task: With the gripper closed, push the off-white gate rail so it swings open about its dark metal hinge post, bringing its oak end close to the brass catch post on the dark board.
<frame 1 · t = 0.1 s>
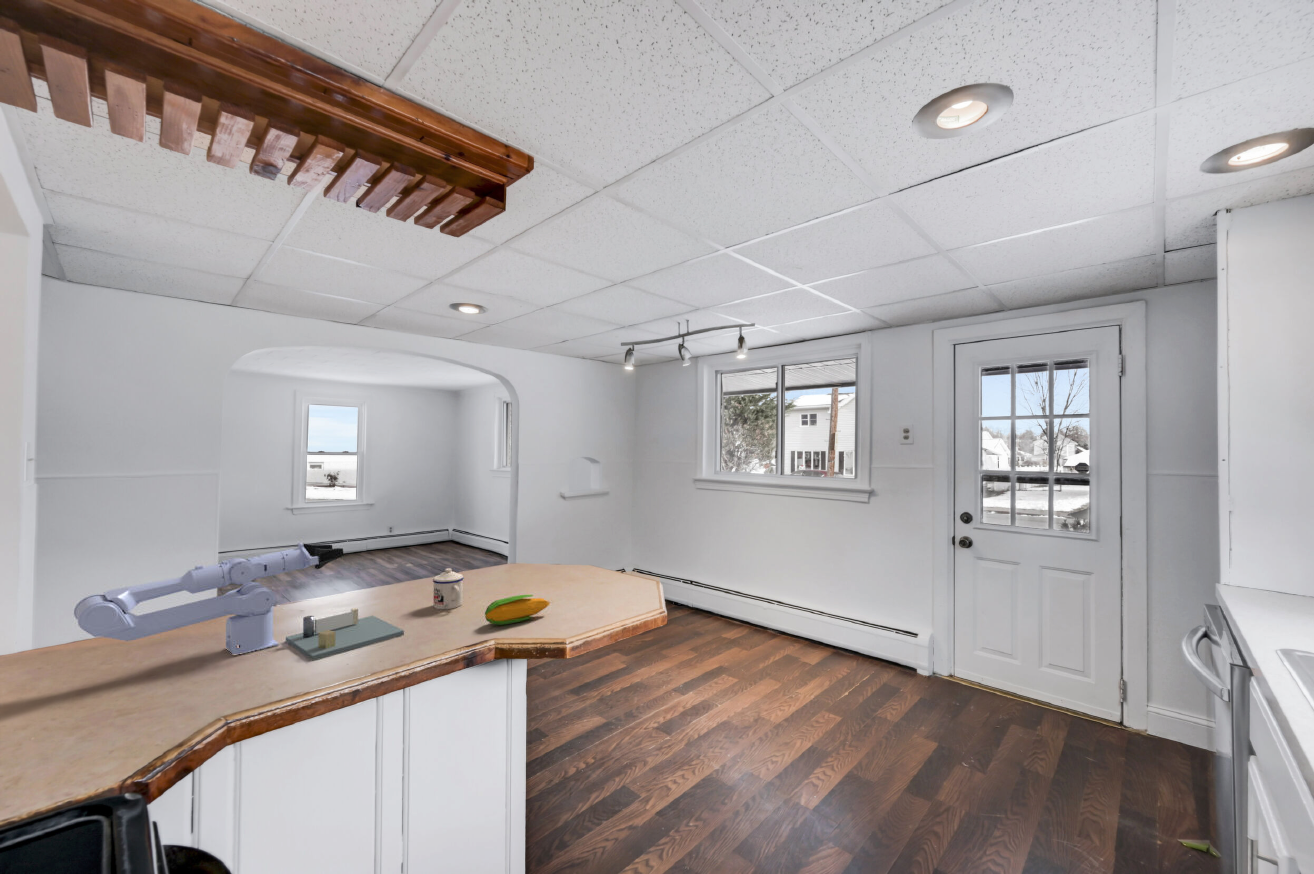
hand: (337, 550, 153), 22 cm above the counter, tool horizontal, fingers open, 7 cm apart
base board: (345, 638, 145), on the counter
gate: (336, 620, 148), point 4 cm above the counter, hinge at 0.0°
corn: (518, 621, 159), on the counter
teacup with lid: (450, 607, 172), on the counter
gate posts: (308, 640, 143), resting on base board
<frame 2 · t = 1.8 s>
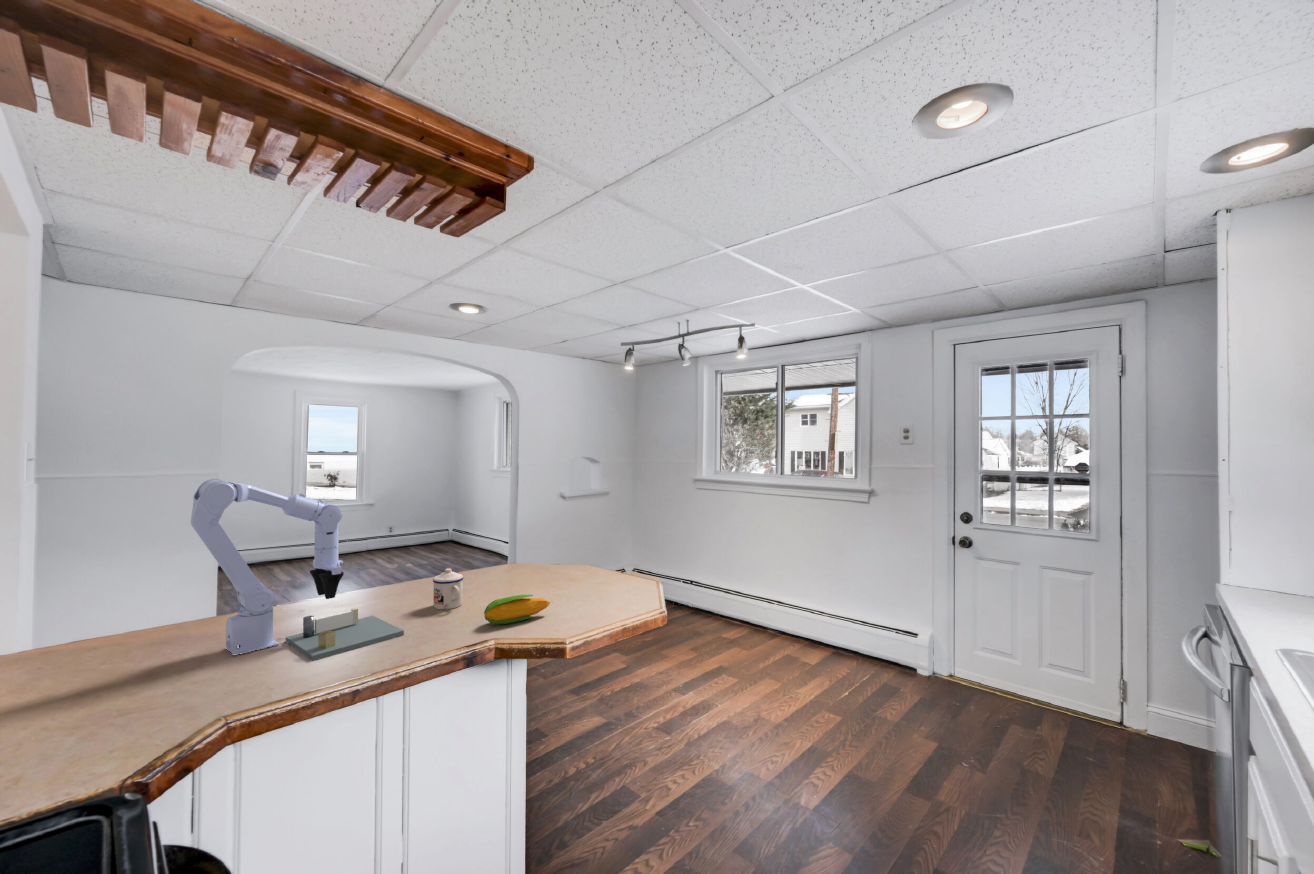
hand: (326, 596, 150), 9 cm above the counter, tool pointing down, fingers open, 5 cm apart
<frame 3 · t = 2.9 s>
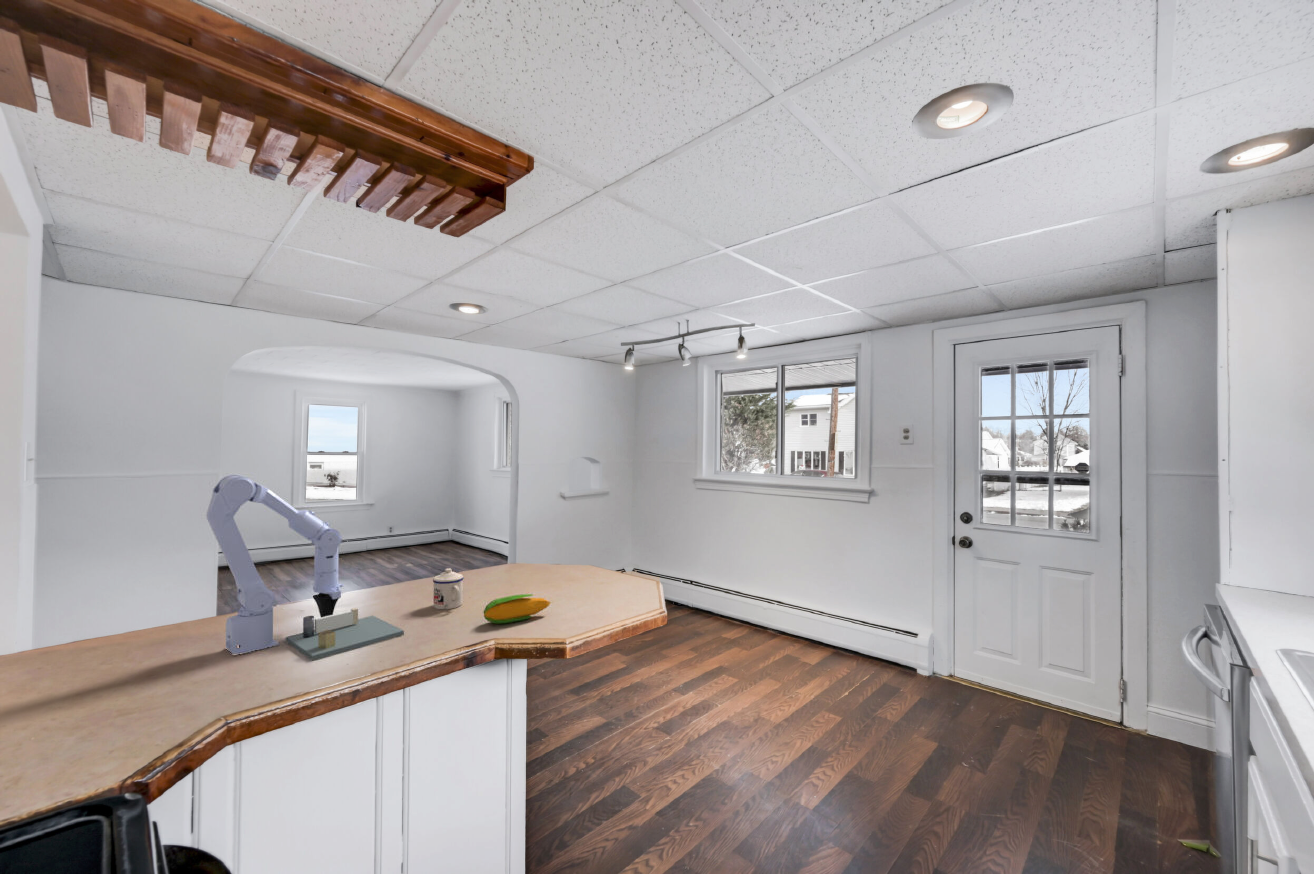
hand: (326, 619, 150), 3 cm above the counter, tool pointing down, fingers closed
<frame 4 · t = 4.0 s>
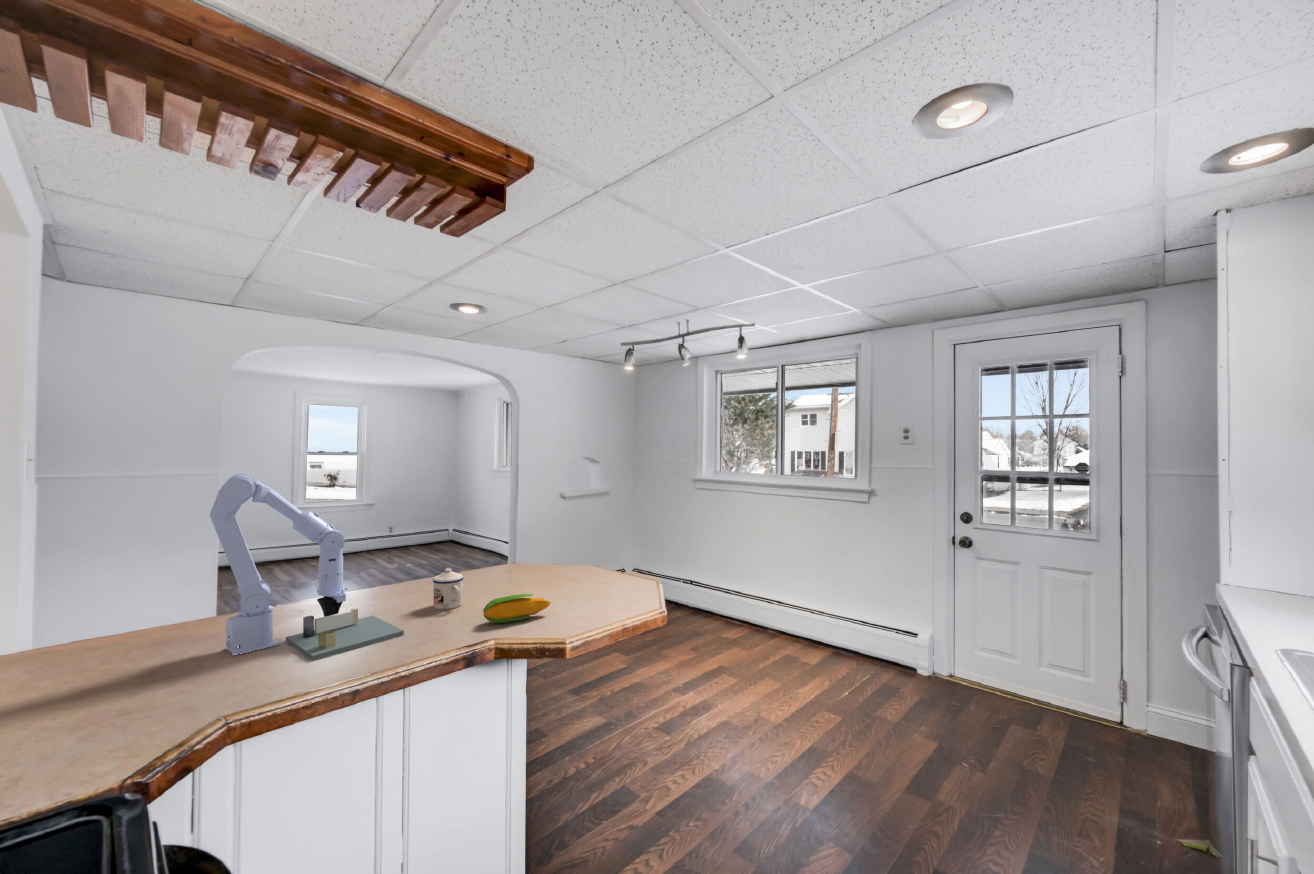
hand: (330, 623, 148), 3 cm above the counter, tool pointing down, fingers closed, pressing on gate
gate: (336, 620, 148), point 4 cm above the counter, hinge at 0.0°, touching gripper
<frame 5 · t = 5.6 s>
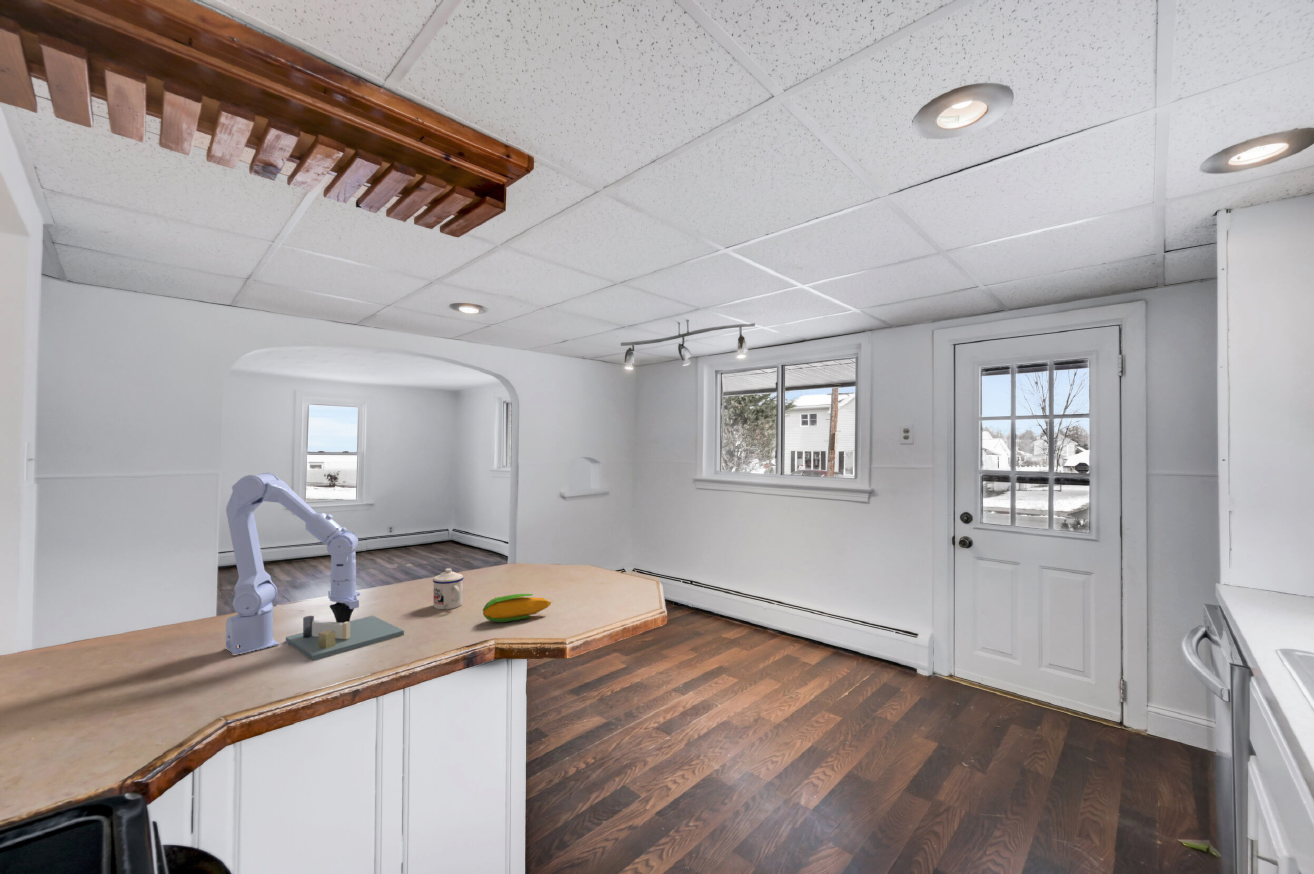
hand: (343, 630, 143), 3 cm above the counter, tool pointing down, fingers closed, pressing on gate
gate: (330, 628, 141), point 4 cm above the counter, hinge at -61.9°, touching gripper
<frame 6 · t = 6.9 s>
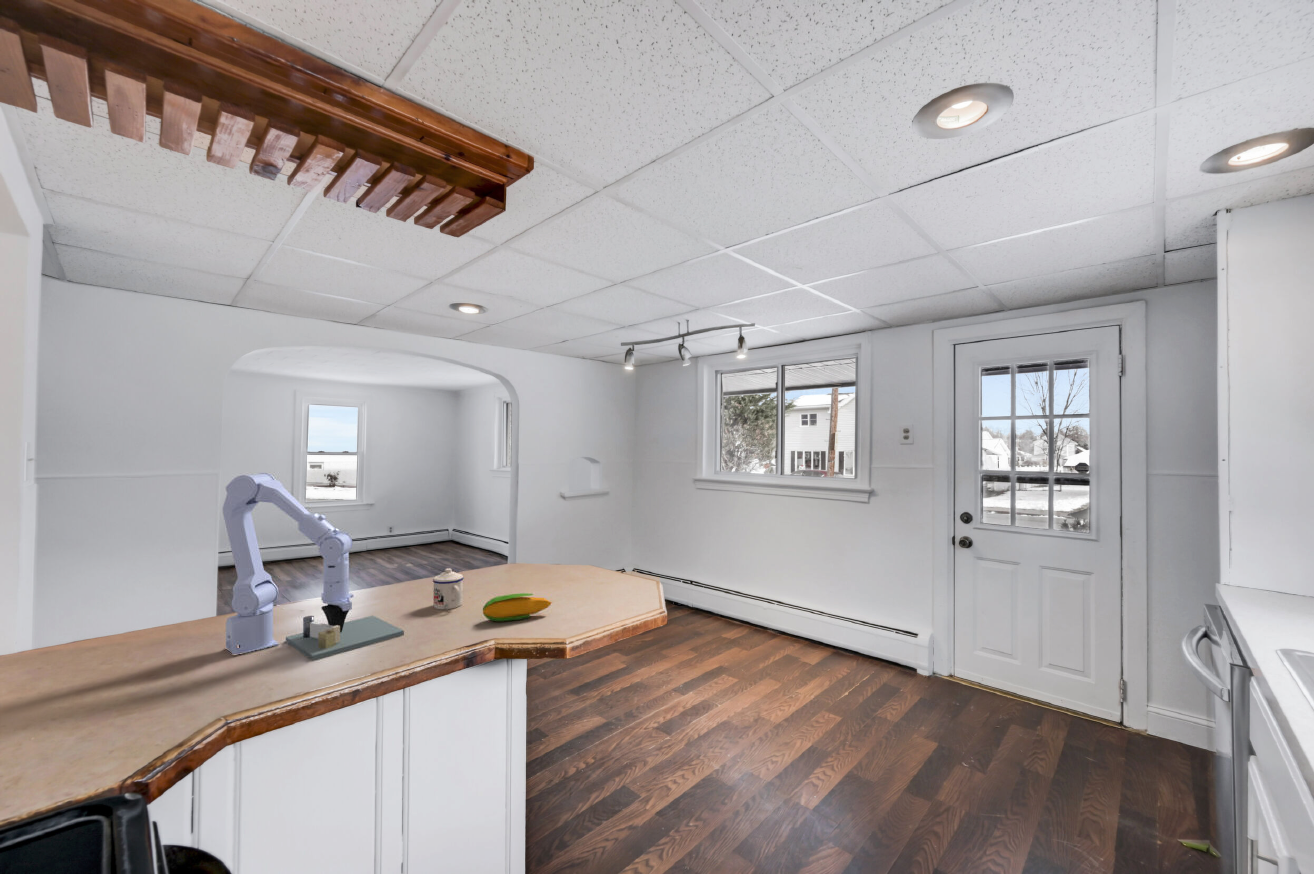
hand: (336, 632, 141), 3 cm above the counter, tool pointing down, fingers closed
gate: (324, 631, 140), point 4 cm above the counter, hinge at -77.5°, touching gripper
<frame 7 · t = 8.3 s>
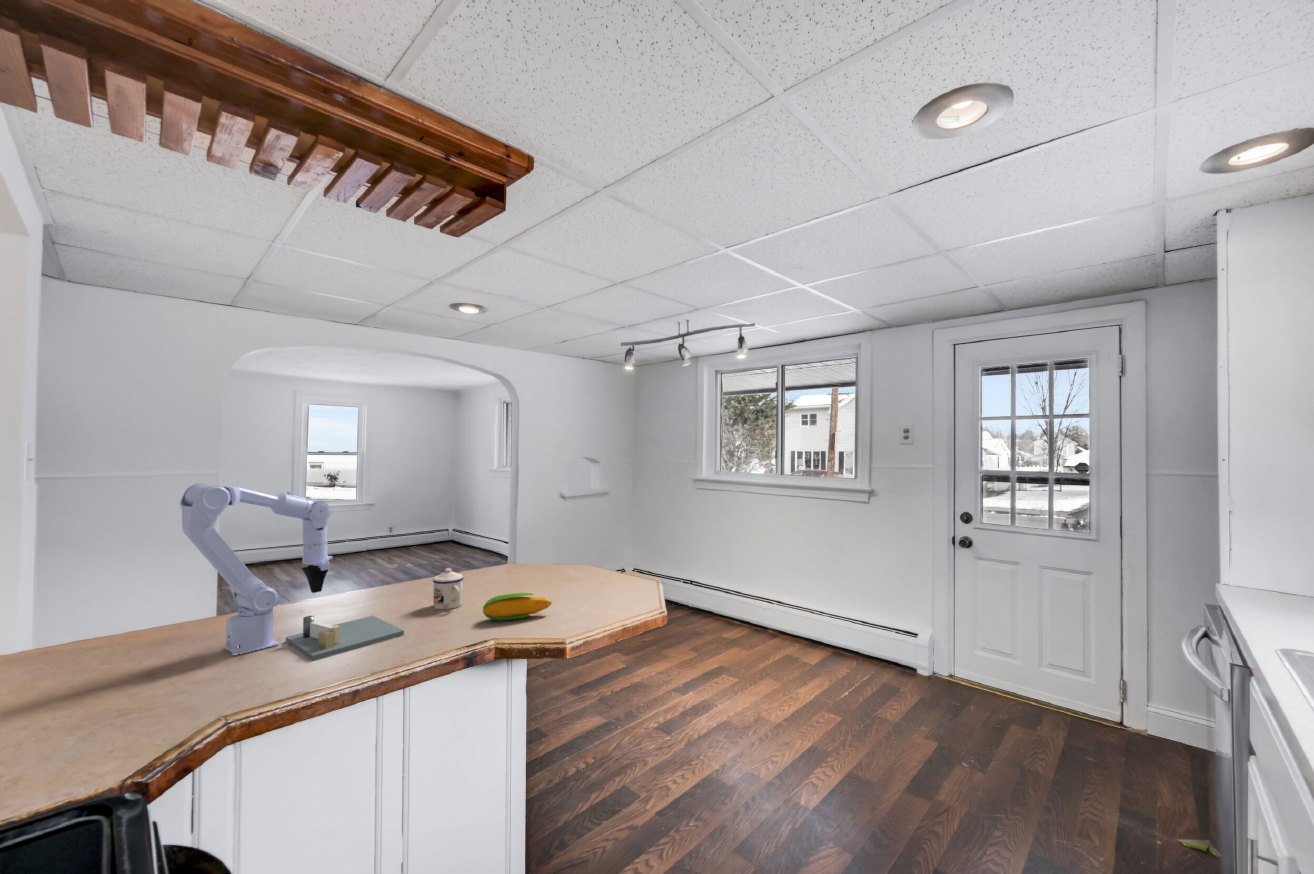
hand: (316, 591, 151), 10 cm above the counter, tool pointing down, fingers closed
gate: (324, 631, 140), point 4 cm above the counter, hinge at -77.5°
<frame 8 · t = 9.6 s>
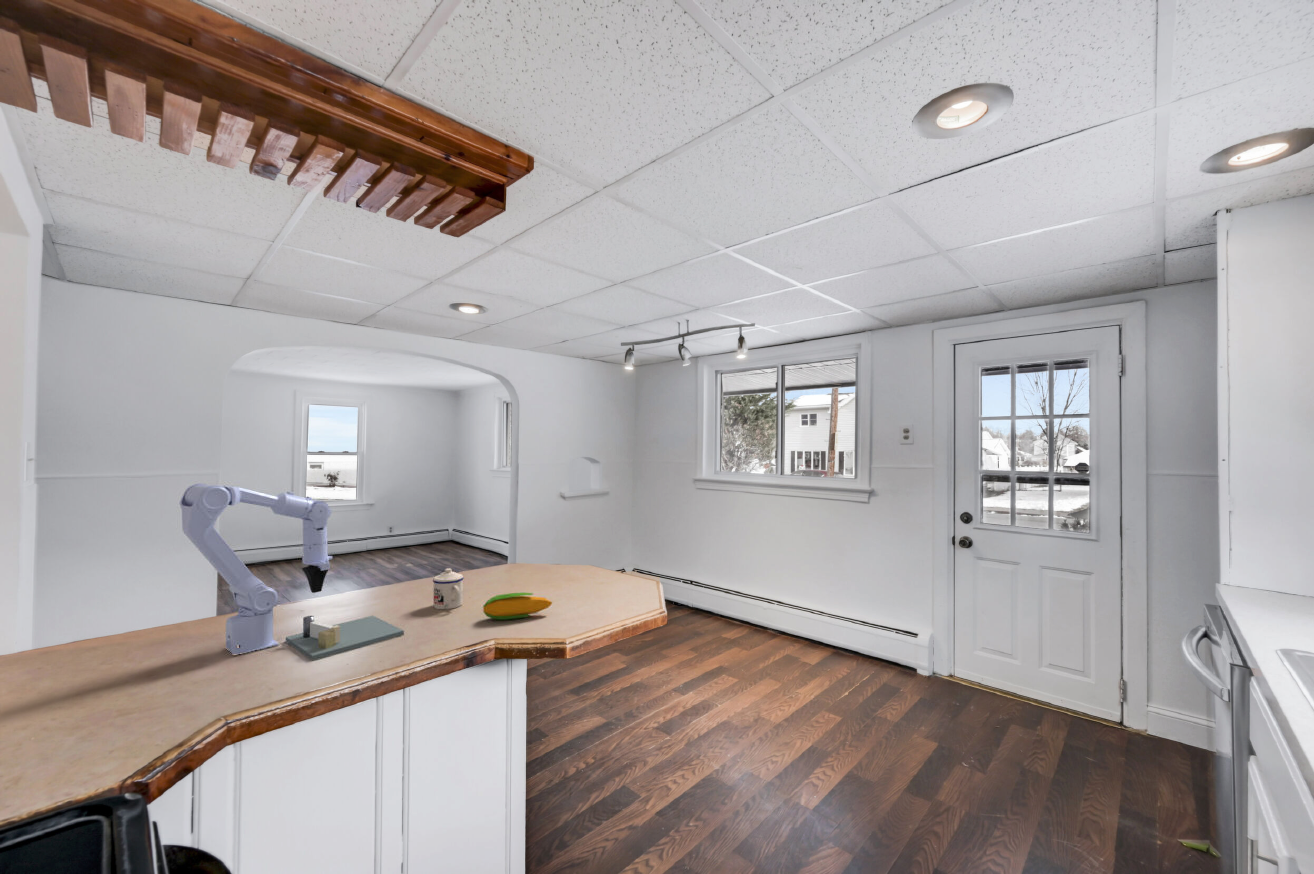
hand: (316, 591, 151), 10 cm above the counter, tool pointing down, fingers closed
at the end: gate at -78° (first picture: +0°) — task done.
